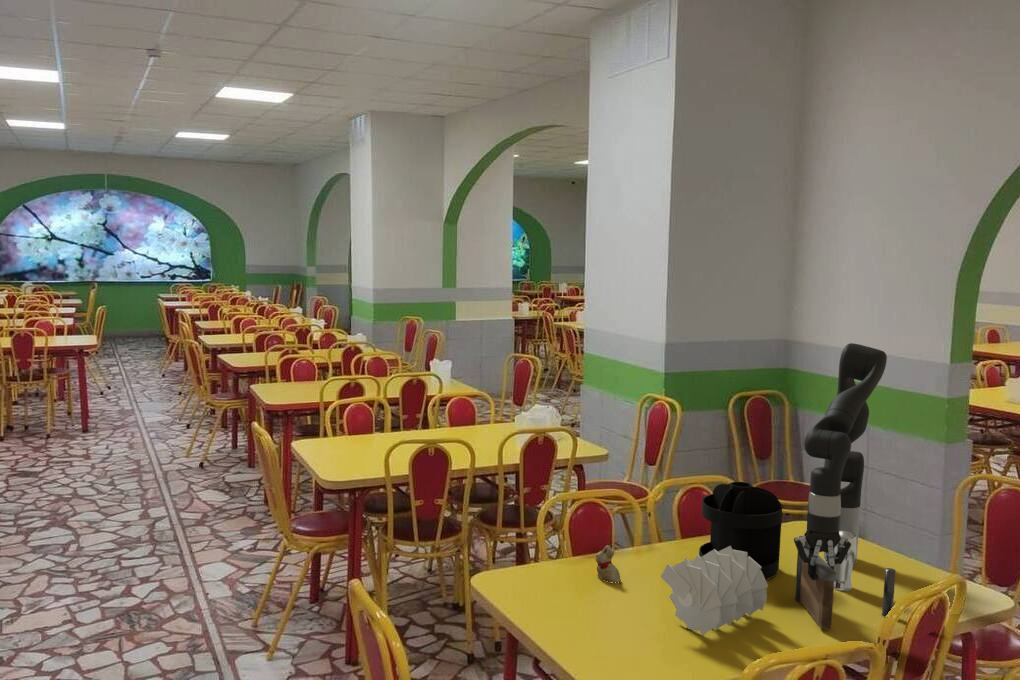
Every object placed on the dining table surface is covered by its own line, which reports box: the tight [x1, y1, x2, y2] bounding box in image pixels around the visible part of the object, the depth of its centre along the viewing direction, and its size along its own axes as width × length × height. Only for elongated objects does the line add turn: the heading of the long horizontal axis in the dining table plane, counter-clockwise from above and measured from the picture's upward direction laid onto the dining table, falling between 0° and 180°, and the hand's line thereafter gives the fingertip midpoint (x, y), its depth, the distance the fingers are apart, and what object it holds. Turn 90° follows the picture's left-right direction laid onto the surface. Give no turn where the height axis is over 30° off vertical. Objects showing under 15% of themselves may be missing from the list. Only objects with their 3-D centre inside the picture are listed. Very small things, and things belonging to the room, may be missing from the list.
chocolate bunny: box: [595, 544, 622, 584], centre depth 235 cm, size 6×8×10 cm
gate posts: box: [794, 535, 897, 618], centre depth 219 cm, size 3×24×17 cm, turn 66°
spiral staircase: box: [660, 546, 769, 636], centre depth 208 cm, size 18×18×25 cm
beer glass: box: [833, 530, 856, 592], centre depth 234 cm, size 7×7×15 cm
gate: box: [799, 548, 836, 630], centre depth 213 cm, size 3×17×14 cm, turn 179°
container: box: [698, 481, 783, 581], centre depth 245 cm, size 22×23×25 cm
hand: (820, 578), depth 210 cm, fingers closed on gate, 3 cm apart
